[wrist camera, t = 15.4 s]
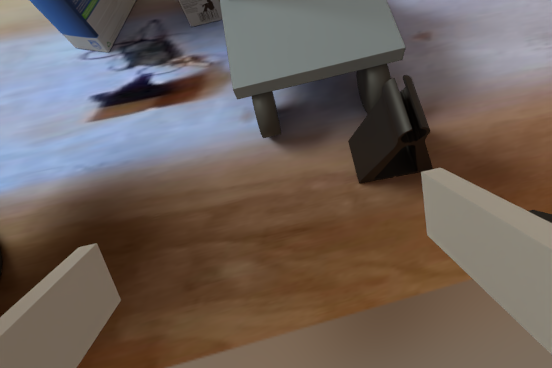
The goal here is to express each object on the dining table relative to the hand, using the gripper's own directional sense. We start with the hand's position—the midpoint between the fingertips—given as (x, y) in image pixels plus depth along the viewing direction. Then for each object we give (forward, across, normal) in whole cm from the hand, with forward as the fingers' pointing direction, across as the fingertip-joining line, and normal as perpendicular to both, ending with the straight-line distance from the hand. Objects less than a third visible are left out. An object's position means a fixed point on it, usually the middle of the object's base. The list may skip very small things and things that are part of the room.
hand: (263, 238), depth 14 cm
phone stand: (+30, +15, -7) cm, 34 cm away
